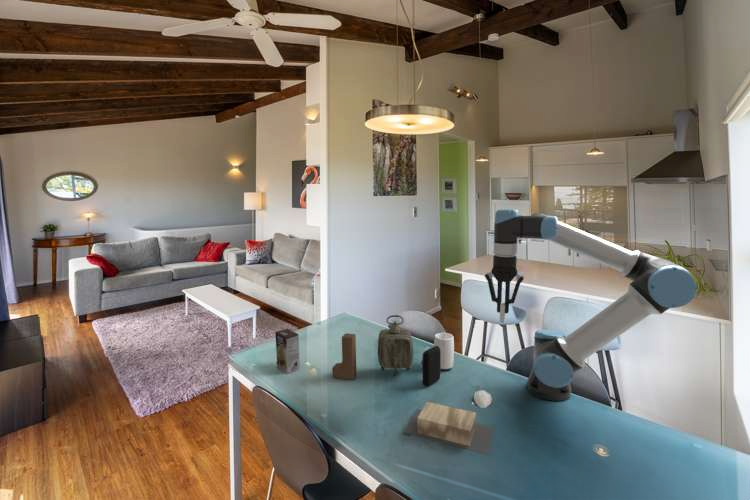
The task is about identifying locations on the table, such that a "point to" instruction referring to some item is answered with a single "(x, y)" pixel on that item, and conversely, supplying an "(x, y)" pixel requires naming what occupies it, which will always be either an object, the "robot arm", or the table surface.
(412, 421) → the mat
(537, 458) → the table surface
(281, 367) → the coffee box
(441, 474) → the table surface
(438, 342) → the cup
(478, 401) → the white oblong lump
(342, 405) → the table surface
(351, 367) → the wooden block
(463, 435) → the slab
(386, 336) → the tabletop clock
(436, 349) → the carrying case or bag
